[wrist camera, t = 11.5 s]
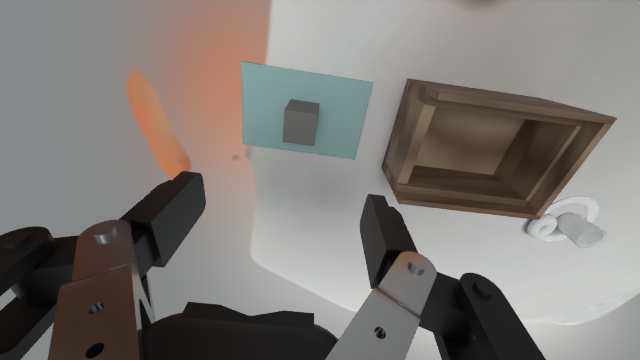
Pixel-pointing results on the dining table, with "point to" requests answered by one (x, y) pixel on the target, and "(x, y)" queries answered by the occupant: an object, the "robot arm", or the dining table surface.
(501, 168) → the box
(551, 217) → the teacup and saucer
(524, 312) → the dining table surface
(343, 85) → the cover plate
